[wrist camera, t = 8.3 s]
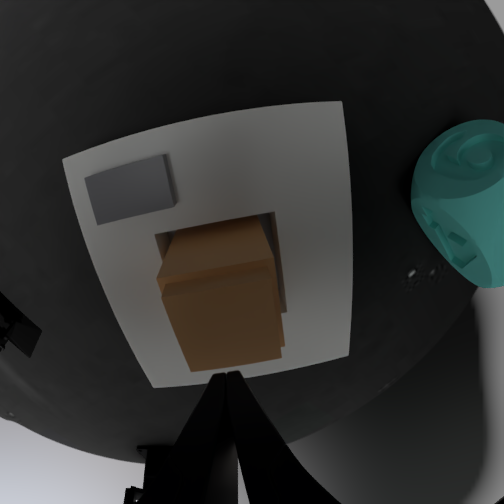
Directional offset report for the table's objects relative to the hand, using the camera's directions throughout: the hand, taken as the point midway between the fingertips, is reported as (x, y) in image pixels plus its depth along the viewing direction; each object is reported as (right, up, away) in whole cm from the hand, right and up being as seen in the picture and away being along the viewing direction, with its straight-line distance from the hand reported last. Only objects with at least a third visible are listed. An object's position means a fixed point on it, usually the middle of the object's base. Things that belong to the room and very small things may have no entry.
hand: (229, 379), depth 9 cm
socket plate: (-1, +4, +9) cm, 10 cm away
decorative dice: (+15, +9, +9) cm, 20 cm away
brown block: (-1, +4, +9) cm, 10 cm away
